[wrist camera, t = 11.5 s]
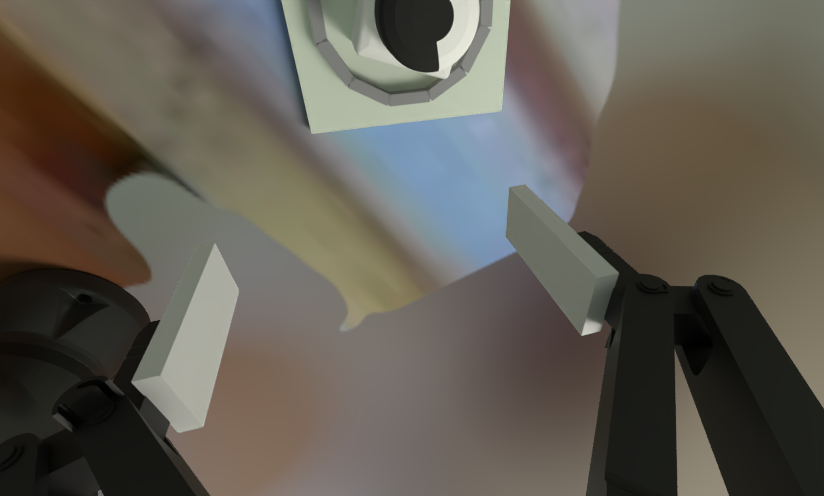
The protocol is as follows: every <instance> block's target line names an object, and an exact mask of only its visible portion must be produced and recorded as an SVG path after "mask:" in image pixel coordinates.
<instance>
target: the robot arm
mask: <svg viewBox="0 0 824 496" xmlns="http://www.w3.org/2000/svg"><path fill="white" fill-rule="evenodd" d="M506 237H507V239H508V240H509V241H510V243H511V244H512V245H513V247H514V248H515V249H516V251H517V252H518V253H519V254H520V256H521V257H522V258H523V260H524V261H525V262H526V263H527V265H528V266H529V268H530V269H531V270H532V271H533V273H534V274H535V275H536V276H537V278H538V279H539V281H540V282H541V283H542V285H543V286H544V287H545V288H546V290H547V291H548V292H549V294H550V295H551V296H552V298H553V299H554V300H555V302H556V303H557V304H558V305H559V307H560V308H561V309H562V311H563V312H564V313H565V315H566V316H567V317H568V319H569V320H570V321H571V323H572V324H573V325H574V327H575V328H576V329H577V331H578V332H579V333H580V334H581V335H586V334H590V333H594V332H599V331H601V329H602V326H603V323H604V320H606V321H607V322H608V324H609V325H610V326H611V327H612V328H611V331H610V334H609V337H608V340H607V343H606V346H605V348H607V355H606V361H605V368H604V375H603V382H602V389H601V396H600V402H599V409H598V416H597V423H596V430H595V436H594V444H593V450H592V457H591V464H590V471H589V477H588V484H587V491H586V496H677V453H676V451H677V450H676V404H675V358H674V348H675V351H676V354H677V356H678V359H679V362H680V364H681V367H682V370H683V372H684V375H685V378H686V380H687V383H688V386H689V388H690V391H691V394H692V397H693V399H694V402H695V405H696V408H697V410H698V413H699V416H700V418H701V421H702V424H703V426H704V429H705V431H706V434H707V437H708V440H709V443H710V445H711V448H712V451H713V453H714V456H715V459H716V461H717V464H718V466H719V469H720V472H721V475H722V477H723V480H724V483H725V485H726V488H727V491H728V493H729V496H824V408H823V407H822V406H821V404H820V402H819V401H818V400H817V398H816V396H815V395H814V393H813V392H812V390H811V389H810V387H809V386H808V384H807V383H806V381H805V380H804V378H803V377H802V375H801V374H800V372H799V370H798V369H797V368H796V366H795V364H794V363H793V361H792V360H791V358H790V357H789V355H788V354H787V352H786V351H785V349H784V348H783V346H782V345H781V343H780V342H779V340H778V339H777V337H776V336H775V334H774V333H773V331H772V330H771V328H770V326H769V325H768V323H767V322H766V320H765V319H764V317H763V316H762V314H761V313H760V311H759V310H758V308H757V307H756V305H755V304H754V302H753V300H752V299H751V298H750V296H749V295H748V293H747V291H746V290H745V289H744V288H743V287H742V286H741V285H740V284H738V283H736V282H735V281H733V280H731V279H729V278H726V277H723V276H718V275H704V276H701V277H699V278H698V280H697V281H696V283H695V285H694V287H692V286H670V285H669V284H668V283H667V282H666V281H664V280H662V279H661V278H659V277H656V276H653V275H648V274H639V273H638V272H637V271H636V270H634V269H633V268H632V267H631V266H630V265H629V264H627V263H626V262H625V261H624V260H623V259H622V258H621V257H620V256H618V255H617V254H616V253H614V252H613V250H612V249H610V248H609V247H608V246H606V244H605V243H604V242H602V240H600V239H599V238H598V237H596V236H594V235H592V234H590V233H588V232H586V231H583V232H579V233H576V232H575V231H574V230H573V229H572V228H570V227H569V225H567V224H566V223H565V222H564V221H563V220H562V219H561V218H560V217H559V216H558V215H557V214H556V213H555V212H554V211H553V210H551V209H550V208H549V207H548V206H547V205H546V204H545V203H544V202H543V201H542V200H541V199H540V198H539V197H538V196H537V195H536V194H534V193H533V192H532V191H531V190H530V189H529V188H528V187H527V186H526V185H520V186H514V187H509V199H508V213H507V228H506ZM238 293H239V289H238V287H237V286H236V284H235V282H234V280H233V278H232V276H231V274H230V272H229V270H228V268H227V266H226V264H225V262H224V260H223V258H222V256H221V254H220V252H219V250H218V248H217V246H216V244H215V243H211V244H206V245H200V246H196V248H195V250H194V251H193V254H192V256H191V258H190V260H189V262H188V264H187V266H186V268H185V270H184V272H183V274H182V277H181V279H180V281H179V283H178V285H177V287H176V289H175V292H174V293H173V295H172V297H171V300H170V302H169V304H168V306H167V308H166V310H165V312H164V314H163V316H162V318H161V320H158V321H153V322H150V318H149V316H148V314H147V312H146V310H145V308H144V307H143V306H142V305H141V303H140V302H139V301H138V300H137V299H136V298H135V297H133V296H132V295H131V294H130V293H128V292H127V291H125V290H124V289H122V288H120V287H119V286H117V285H115V284H113V283H111V282H109V281H107V280H104V279H102V278H99V277H96V276H93V275H89V274H86V273H81V272H77V271H71V270H62V269H39V270H32V271H27V272H22V273H19V274H16V275H14V276H12V277H10V278H8V279H6V280H5V281H3V282H2V283H1V284H0V496H98V491H99V490H101V491H102V493H103V495H104V496H210V495H209V493H208V492H207V491H206V489H205V488H204V487H203V485H202V484H201V482H200V481H199V480H198V478H197V477H196V476H195V474H194V473H193V472H192V470H191V469H190V467H189V466H188V465H187V463H186V462H185V461H184V459H183V458H182V457H181V455H180V454H179V452H178V451H177V450H176V448H175V447H174V446H173V444H172V443H171V441H170V440H169V439H168V438H167V437H166V436H165V435H166V432H167V429H168V426H169V424H171V425H172V427H173V428H174V429H175V430H176V431H177V432H178V433H180V432H184V431H188V430H193V429H197V428H201V427H203V426H204V423H205V419H206V415H207V411H208V407H209V404H210V400H211V396H212V392H213V388H214V385H215V381H216V377H217V373H218V369H219V366H220V362H221V358H222V354H223V350H224V347H225V343H226V339H227V335H228V332H229V328H230V324H231V320H232V316H233V313H234V309H235V305H236V301H237V297H238ZM113 379H114V380H113ZM112 380H113V382H112Z"/></svg>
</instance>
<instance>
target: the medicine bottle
mask: <svg viewBox="0 0 824 496" xmlns="http://www.w3.org/2000/svg"><path fill="white" fill-rule="evenodd" d="M478 21H479V0H357V5H356V11H355V18H354V24H353V30H352V37H351V41H352V44H353V47H354V49H355V52H356V54H357V55H358V56H361V57H364V58H368V59H372V60H375V61H379V62H383V63H386V64H390V65H394V66H397V67H401V68H405V69H408V70H412V71H416V72H419V73H423V74H427V75H430V76H434V77H438V78H442V79H446V78H448V76H449V74H450V70H451V67H452V64H454V63H455V62H457V61H458V60H459V59H460V58H461V57H462V56H463V54H464V53H465V52H466V51H467V49H468V48H469V46H470V44H471V42H472V40H473V38H474V36H475V33H476V30H477V26H478Z"/></svg>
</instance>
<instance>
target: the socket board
mask: <svg viewBox="0 0 824 496" xmlns="http://www.w3.org/2000/svg"><path fill="white" fill-rule="evenodd" d="M281 1H282V5H283V10H284V14H285V19H286V23H287V27H288V32H289V36H290V41H291V45H292V50H293V54H294V58H295V63H296V67H297V72H298V76H299V80H300V85H301V89H302V94H303V98H304V103H305V107H306V111H307V116H308V120H309V125H310V129H311V133H312V134H315V133H323V132H332V131H340V130H348V129H357V128H365V127H373V126H382V125H390V124H398V123H407V122H415V121H423V120H432V119H440V118H448V117H457V116H465V115H474V114H482V113H490V112H499V111H502V99H503V87H504V74H505V61H506V49H507V36H508V24H509V11H510V0H479V21H478V26H477V30H476V33H475V36H474V38H473V40H472V42H471V44H470V46H469V48H468V49H467V51H466V52H465V53H464V54H463V56H462V57H461V58H460V59H459V60H458V61H457V62H455V63H454V64H452V67H451V70H450V74H449V76H448V78H446V79H442V78H438V77H434V76H430V75H427V74H423V73H419V72H416V71H412V70H408V69H405V68H401V67H397V66H394V65H390V64H386V63H383V62H379V61H375V60H372V59H368V58H364V57H361V56H358V55H357V54H356V52H355V49H354V47H353V44H352V41H351V37H352V30H353V24H354V18H355V11H356V5H357V0H281Z"/></svg>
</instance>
